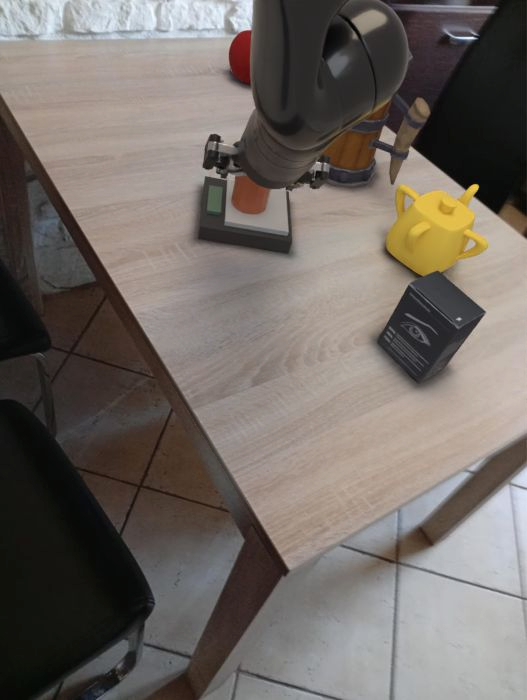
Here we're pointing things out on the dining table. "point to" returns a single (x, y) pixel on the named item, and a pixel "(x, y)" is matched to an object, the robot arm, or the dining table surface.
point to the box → (429, 325)
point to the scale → (244, 219)
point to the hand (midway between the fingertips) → (256, 176)
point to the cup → (249, 196)
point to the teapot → (433, 230)
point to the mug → (374, 143)
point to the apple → (241, 56)
